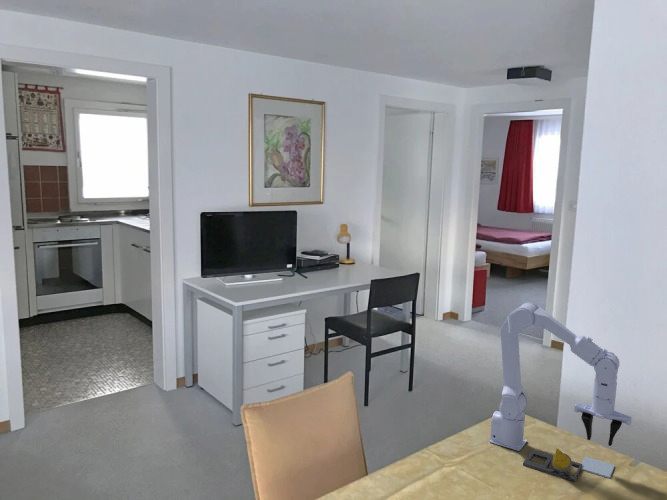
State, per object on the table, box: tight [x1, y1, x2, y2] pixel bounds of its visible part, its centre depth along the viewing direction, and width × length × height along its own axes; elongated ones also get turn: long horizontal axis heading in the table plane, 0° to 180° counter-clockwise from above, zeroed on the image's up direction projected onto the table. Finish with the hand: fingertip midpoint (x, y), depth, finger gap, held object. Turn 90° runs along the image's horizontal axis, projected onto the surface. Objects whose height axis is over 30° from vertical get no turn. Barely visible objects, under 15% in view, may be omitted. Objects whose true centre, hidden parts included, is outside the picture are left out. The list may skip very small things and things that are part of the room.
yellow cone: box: [550, 448, 573, 473], centre depth 156 cm, size 5×5×10 cm
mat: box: [580, 456, 616, 479], centre depth 160 cm, size 8×8×1 cm
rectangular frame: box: [522, 449, 583, 483], centre depth 160 cm, size 14×10×1 cm
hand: (599, 441), depth 159 cm, fingers open, 5 cm apart
